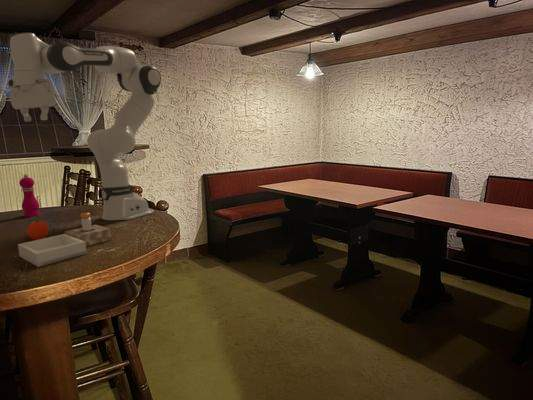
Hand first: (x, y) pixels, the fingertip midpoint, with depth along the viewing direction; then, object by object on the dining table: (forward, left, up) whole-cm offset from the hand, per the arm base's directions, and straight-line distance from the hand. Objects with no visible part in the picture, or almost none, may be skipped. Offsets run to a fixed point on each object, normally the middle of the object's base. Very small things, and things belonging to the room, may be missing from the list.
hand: (36, 120), depth 137 cm
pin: (-4, +22, -43) cm, 48 cm away
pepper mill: (-8, -47, -43) cm, 64 cm away
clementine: (+6, +3, -43) cm, 43 cm away
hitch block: (-4, +22, -43) cm, 48 cm away
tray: (+10, +28, -43) cm, 52 cm away
